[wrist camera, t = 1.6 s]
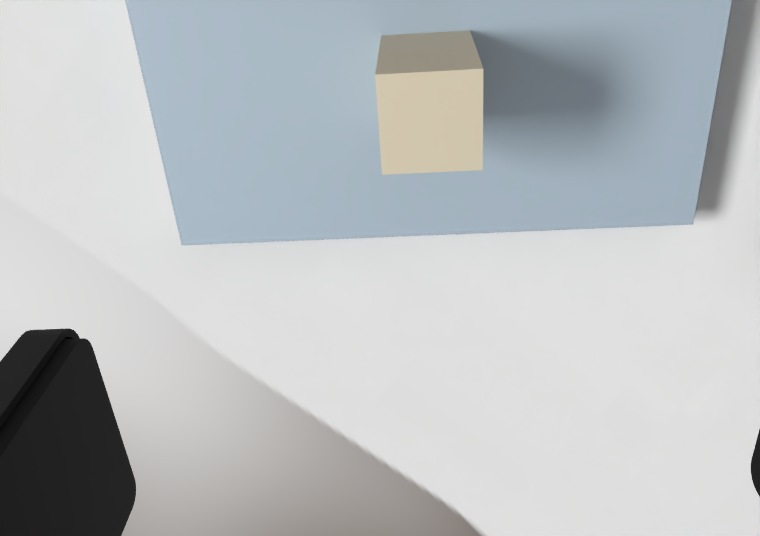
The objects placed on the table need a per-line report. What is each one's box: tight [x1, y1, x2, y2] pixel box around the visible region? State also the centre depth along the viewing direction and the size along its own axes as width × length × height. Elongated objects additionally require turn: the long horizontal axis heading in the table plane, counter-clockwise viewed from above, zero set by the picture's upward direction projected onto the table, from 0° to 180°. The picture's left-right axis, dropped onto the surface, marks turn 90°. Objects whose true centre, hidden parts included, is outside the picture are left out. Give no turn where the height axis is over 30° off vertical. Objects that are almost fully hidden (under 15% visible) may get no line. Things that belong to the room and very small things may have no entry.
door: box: [125, 0, 732, 245], centre depth 23 cm, size 20×14×6 cm
